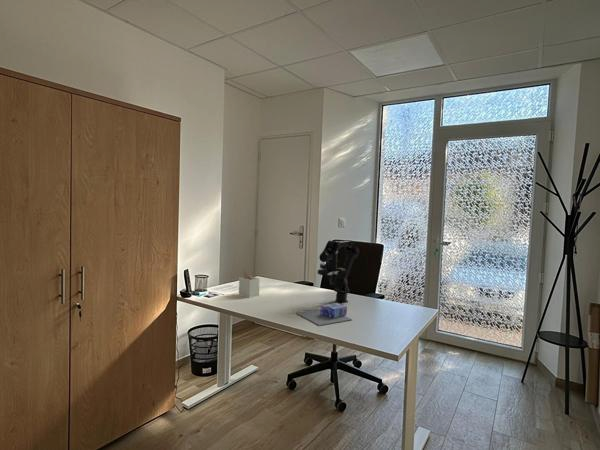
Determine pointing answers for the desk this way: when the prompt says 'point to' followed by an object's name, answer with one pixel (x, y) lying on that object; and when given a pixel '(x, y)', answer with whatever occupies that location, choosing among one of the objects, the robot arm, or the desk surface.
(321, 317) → the mat
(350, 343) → the desk surface
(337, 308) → the ink cartridge box
